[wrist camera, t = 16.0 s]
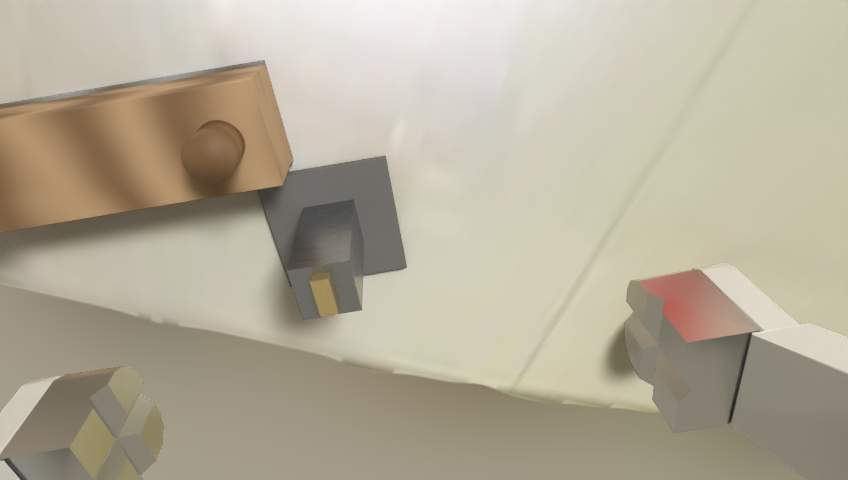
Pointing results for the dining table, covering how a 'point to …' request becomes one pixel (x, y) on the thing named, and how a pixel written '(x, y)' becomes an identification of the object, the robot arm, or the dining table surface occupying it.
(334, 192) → the pad
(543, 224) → the dining table surface
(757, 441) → the robot arm
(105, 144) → the plane body
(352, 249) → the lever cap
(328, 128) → the dining table surface
